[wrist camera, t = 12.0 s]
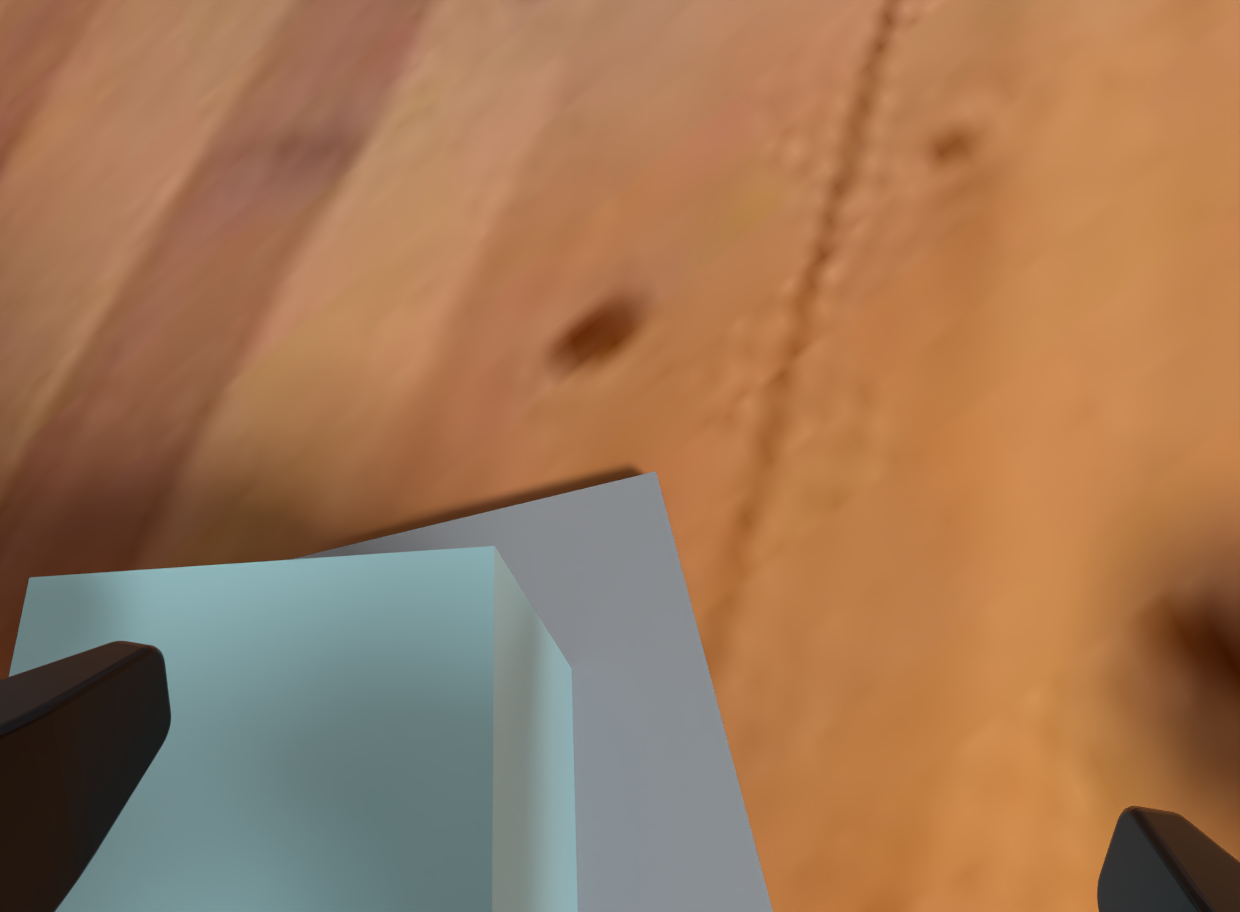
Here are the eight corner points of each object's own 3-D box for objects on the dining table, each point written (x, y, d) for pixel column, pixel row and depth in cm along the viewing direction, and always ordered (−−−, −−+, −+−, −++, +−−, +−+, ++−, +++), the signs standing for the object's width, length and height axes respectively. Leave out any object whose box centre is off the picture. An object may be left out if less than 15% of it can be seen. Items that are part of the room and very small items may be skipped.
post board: (828, 1130, 19) (863, 1201, 15) (120, 1312, 18) (-38, 1434, 14) (657, 483, 24) (649, 408, 20) (114, 613, 24) (-1, 563, 20)
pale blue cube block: (580, 1011, 19) (490, 1121, 11) (246, 1026, 19) (-89, 1143, 11) (571, 668, 22) (494, 545, 13) (279, 686, 22) (29, 577, 14)
